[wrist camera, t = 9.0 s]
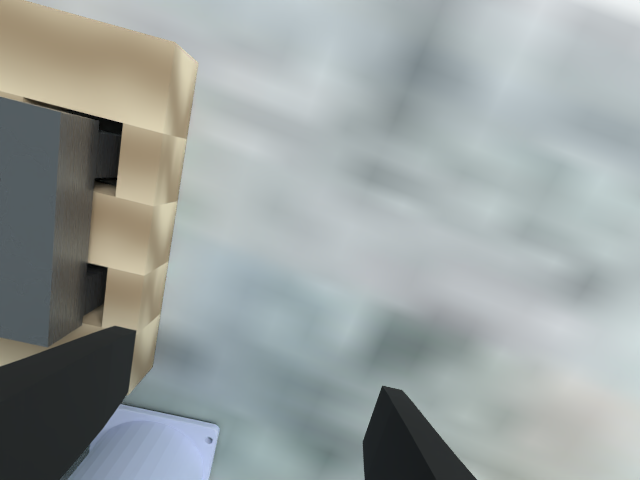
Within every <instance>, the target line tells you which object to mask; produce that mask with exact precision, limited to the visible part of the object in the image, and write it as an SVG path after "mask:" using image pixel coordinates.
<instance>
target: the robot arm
mask: <svg viewBox="0 0 640 480" xmlns="http://www.w3.org/2000/svg"><path fill="white" fill-rule="evenodd" d="M136 331H137V330H132V329H128V328H123V327H119V326H112V327H109V328H105V329H102V330H100V331H97V332H94V333H91V334H88V335H86V336H83V337H80V338H78V339H75V340H72V341H70V342H67V343H64V344H61V345H59V346H56V347H53V348H51V349H48V350H45V351H42V352H40V353H37V354H34V355H31V356H29V357H26V358H23V359H21V360H18V361H15V362H12V363H9V364H6V365H3V366H0V480H59V479H60V478H61V477H62V476H63V475H64V474H65V473H66V471H67V470H68V469H69V468H70V467H71V466H72V464H73V463H74V462H75V461H76V460H77V459H78V457H79V456H80V455H81V454H82V453H83V452H84V450H85V449H86V448H87V447H88V446H89V445H90V448H89V454H88V455H87V456H86V457H85V459H84V460H83V461H82V462H81V463H80V465H79V466H78V467H77V468H76V470H75V471H74V472H73V473H72V474H71V476H70V477H69V478H68V479H67V480H209V477H210V472H211V468H212V463H213V459H214V454H215V449H216V445H217V440H218V436H219V427H218V426H217V425H216V424H213V423H208V422H203V421H199V420H194V419H189V418H184V417H180V416H175V415H170V414H165V413H161V412H156V411H151V410H146V409H142V408H137V407H132V406H127V405H123V404H121V402H122V401H123V399H124V398H125V396H126V395H127V393H128V391H129V384H130V376H131V369H132V361H133V353H134V346H135V338H136ZM208 437H210V438H212V439H210V438H208ZM363 457H364V474H365V480H477V479H476V478H475V477H474V476H473V475H472V474H471V472H470V471H469V470H468V469H467V468H466V467H465V465H464V464H463V463H462V462H461V461H460V460H459V458H458V457H457V456H456V455H455V454H454V452H453V451H452V450H451V449H450V448H449V446H448V445H447V444H446V443H445V442H444V440H443V439H442V438H441V437H440V436H439V434H438V433H437V432H436V431H435V429H434V428H433V427H432V426H431V424H430V423H429V422H428V421H427V419H426V418H425V417H424V416H423V415H422V413H421V412H420V411H419V410H418V408H417V407H416V406H415V405H414V403H413V402H412V401H411V400H410V399H409V397H408V396H407V395H406V394H405V393H404V392H403V391H402V390H399V389H395V388H390V387H386V386H382V388H381V391H380V394H379V397H378V399H377V402H376V405H375V408H374V411H373V414H372V417H371V420H370V423H369V425H368V428H367V431H366V434H365V437H364V440H363Z"/></svg>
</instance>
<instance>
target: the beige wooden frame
mask: <svg viewBox="0 0 640 480" xmlns="http://www.w3.org/2000/svg"><path fill="white" fill-rule="evenodd" d="M197 68H198V62H197V61H196V60H194V59H193V58H192V57H191V56H190V55H189V54H188V53H187V52H185V51H184V50H183V49H182V48H181V47H180V46H179V45H178V44H176V43H175V42H172V41H168V40H165V39H161V38H158V37H154V36H150V35H147V34H143V33H140V32H136V31H132V30H129V29H125V28H122V27H118V26H114V25H111V24H107V23H104V22H100V21H96V20H93V19H89V18H86V17H82V16H78V15H75V14H71V13H68V12H64V11H60V10H57V9H53V8H50V7H46V6H42V5H39V4H35V3H32V2H28V1H24V0H0V96H1V97H6V98H10V99H14V100H18V101H23V102H27V103H31V104H35V105H39V106H43V107H47V108H51V109H55V110H58V111H62V112H66V113H69V109H71V110H75V111H79V112H83V113H86V114H90V115H94V116H98V117H102V118H106V119H109V120H113V121H117V122H121V123H123V129H122V138H121V148H120V157H119V167H118V176H117V186H114V185H110V184H106V183H102V182H98V181H94V190H93V202H92V214H91V227H90V239H89V251H88V263H92V264H96V265H100V266H105V267H108V272H107V282H106V291H105V301H104V304H102V305H101V306H99V307H97V308H96V309H94V310H92V311H91V312H89V313H88V314H86V315H84V316H83V323H82V326H80V327H79V328H77V329H75V330H74V331H72V332H71V333H69V334H68V335H66V336H65V337H63V338H62V339H60V340H59V341H57V342H55V343H54V344H52V345H51V346H49V347H48V348H47V347H43V346H38V345H33V344H29V343H24V342H19V341H15V340H10V339H5V338H1V337H0V366H3V365H6V364H9V363H12V362H15V361H18V360H21V359H23V358H26V357H29V356H31V355H34V354H37V353H40V352H42V351H45V350H48V349H51V348H53V347H56V346H59V345H61V344H64V343H67V342H70V341H72V340H75V339H78V338H80V337H83V336H86V335H88V334H91V333H94V332H97V331H100V330H102V329H105V328H109V327H112V326H119V327H123V328H128V329H132V330H137V331H136V338H135V346H134V353H133V361H132V369H131V376H130V384H129V391H128V393H127V395H129V394H130V393H131V392H132V390H133V389H134V388H135V387H136V386H137V385H138V383H139V382H140V381H141V380H142V379H143V378H144V376H145V375H146V374H147V373H148V372H149V371H150V369H151V368H152V367H153V361H154V354H155V347H156V341H157V334H158V327H159V321H160V314H161V307H162V301H163V294H164V287H165V281H166V274H167V267H168V261H169V254H170V247H171V241H172V234H173V227H174V221H175V214H176V207H177V201H178V194H179V187H180V181H181V174H182V168H183V161H184V154H185V148H186V141H187V134H188V128H189V121H190V114H191V108H192V101H193V94H194V88H195V81H196V74H197Z"/></svg>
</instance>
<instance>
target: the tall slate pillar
mask: <svg viewBox="0 0 640 480" xmlns="http://www.w3.org/2000/svg"><path fill="white" fill-rule="evenodd" d="M121 138H122V135H118V134H114V133H110V132H106V131H102V130H99V121H98V120H94V119H90V118H86V117H82V116H78V115H74V114H70V113H66V112H62V111H58V110H55V109H51V108H47V107H43V106H39V105H35V104H31V103H27V102H23V101H18V100H14V99H10V98H6V97H1V96H0V337H1V338H5V339H10V340H15V341H19V342H24V343H29V344H33V345H38V346H43V347H47V348H48V347H49V346H51V345H52V344H54V343H55V342H57V341H59V340H60V339H62V338H63V337H65V336H66V335H68V334H69V333H71V332H72V331H74V330H75V329H77V328H79V327H80V326H82V323H83V316H84V315H86V314H88V313H89V312H91V311H92V310H94V309H96V308H97V307H99V306H101V305H102V304H104V301H105V291H106V282H107V272H108V267H105V266H100V265H96V264H92V263H88V251H89V239H90V227H91V214H92V202H93V190H94V178H109V177H117V176H118V167H119V157H120V148H121Z"/></svg>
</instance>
